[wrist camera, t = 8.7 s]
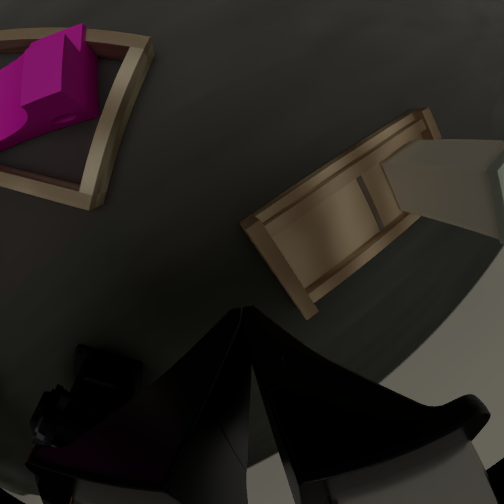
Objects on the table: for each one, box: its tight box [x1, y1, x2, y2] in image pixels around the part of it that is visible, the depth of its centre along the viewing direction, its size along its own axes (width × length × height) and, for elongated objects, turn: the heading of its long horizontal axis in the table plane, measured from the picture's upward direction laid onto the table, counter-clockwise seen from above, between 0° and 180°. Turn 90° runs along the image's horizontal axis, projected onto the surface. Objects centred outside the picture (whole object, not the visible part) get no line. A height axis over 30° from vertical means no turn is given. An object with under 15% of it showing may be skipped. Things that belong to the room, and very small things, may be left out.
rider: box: [381, 139, 504, 244], centre depth 17 cm, size 5×5×12 cm
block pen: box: [0, 28, 155, 211], centre depth 14 cm, size 12×21×4 cm, turn 71°
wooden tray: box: [239, 107, 442, 320], centre depth 23 cm, size 20×9×3 cm, turn 123°
